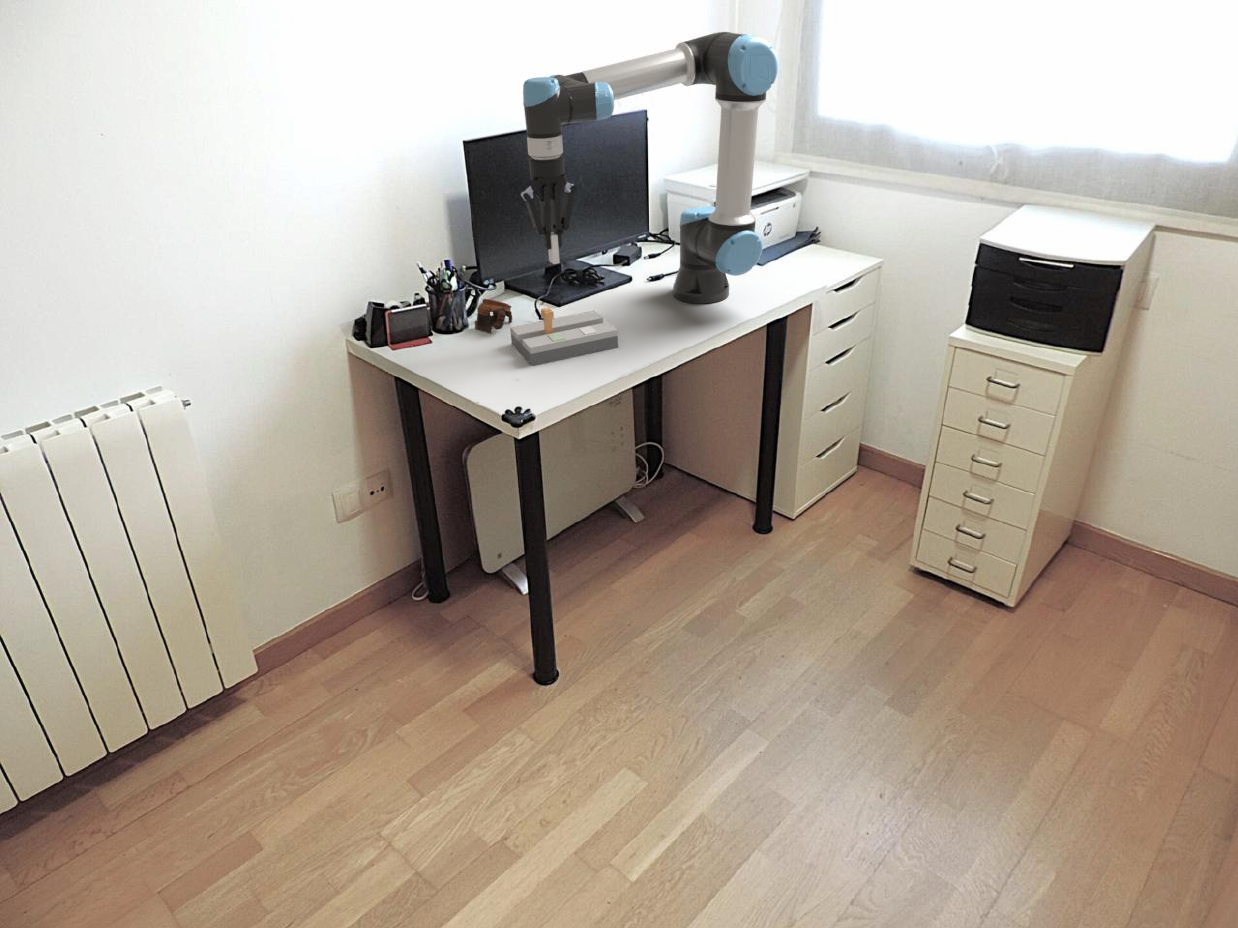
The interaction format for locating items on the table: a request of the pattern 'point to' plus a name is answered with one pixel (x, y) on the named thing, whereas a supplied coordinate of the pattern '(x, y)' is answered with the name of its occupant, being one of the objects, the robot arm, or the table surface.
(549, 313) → the breaker handle
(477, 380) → the table surface
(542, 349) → the box
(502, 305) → the brown arched block
